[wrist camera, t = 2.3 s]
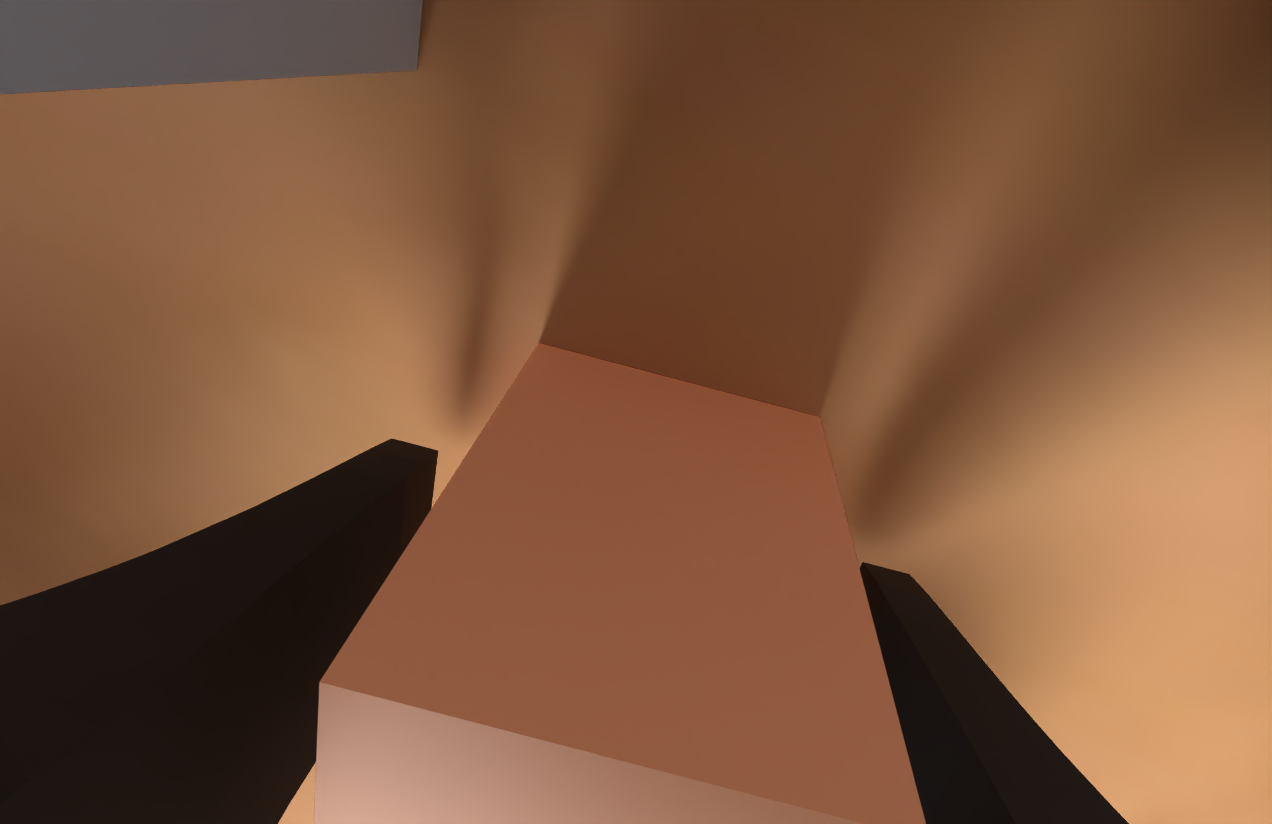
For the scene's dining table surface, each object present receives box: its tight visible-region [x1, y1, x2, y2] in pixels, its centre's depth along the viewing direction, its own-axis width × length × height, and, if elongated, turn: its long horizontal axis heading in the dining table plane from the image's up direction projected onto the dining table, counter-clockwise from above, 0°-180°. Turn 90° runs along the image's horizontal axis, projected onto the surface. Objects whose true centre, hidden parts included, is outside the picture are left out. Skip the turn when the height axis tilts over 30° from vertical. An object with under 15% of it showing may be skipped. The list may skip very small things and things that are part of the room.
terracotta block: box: [314, 343, 926, 824], centre depth 8 cm, size 4×4×6 cm
